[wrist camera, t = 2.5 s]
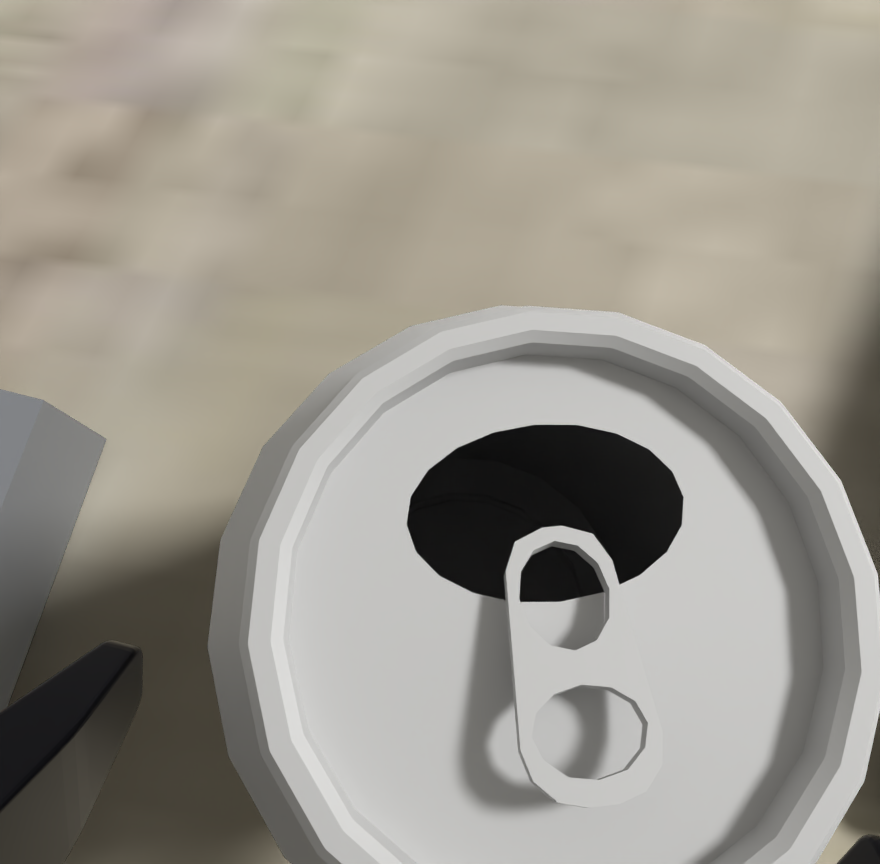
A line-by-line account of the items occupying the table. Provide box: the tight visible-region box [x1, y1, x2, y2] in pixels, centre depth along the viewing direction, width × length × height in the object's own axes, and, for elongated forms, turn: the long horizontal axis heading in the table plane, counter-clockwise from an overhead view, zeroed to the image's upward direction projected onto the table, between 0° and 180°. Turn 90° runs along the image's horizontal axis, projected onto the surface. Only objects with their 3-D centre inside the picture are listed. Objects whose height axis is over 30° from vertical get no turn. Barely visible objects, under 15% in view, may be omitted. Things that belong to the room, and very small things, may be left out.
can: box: [207, 305, 880, 864], centre depth 13 cm, size 8×8×12 cm
